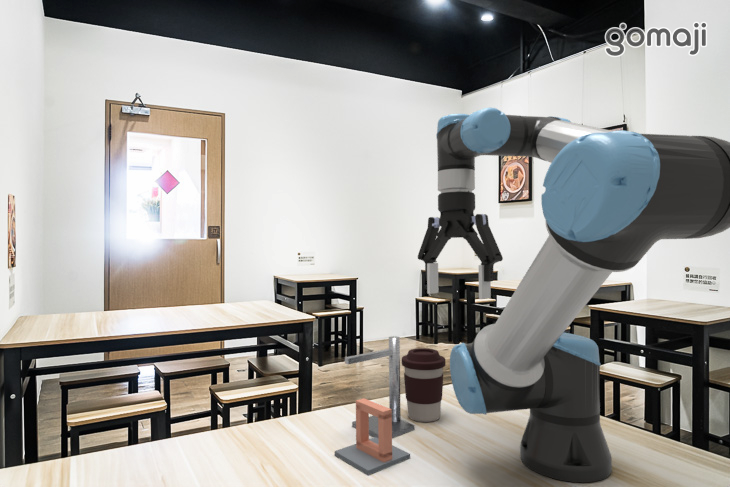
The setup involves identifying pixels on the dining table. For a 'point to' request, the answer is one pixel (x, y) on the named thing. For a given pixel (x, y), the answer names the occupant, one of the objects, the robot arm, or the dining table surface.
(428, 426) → the dining table surface
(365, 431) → the link
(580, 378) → the robot arm
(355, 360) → the stand
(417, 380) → the coffee cup
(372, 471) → the coaster
